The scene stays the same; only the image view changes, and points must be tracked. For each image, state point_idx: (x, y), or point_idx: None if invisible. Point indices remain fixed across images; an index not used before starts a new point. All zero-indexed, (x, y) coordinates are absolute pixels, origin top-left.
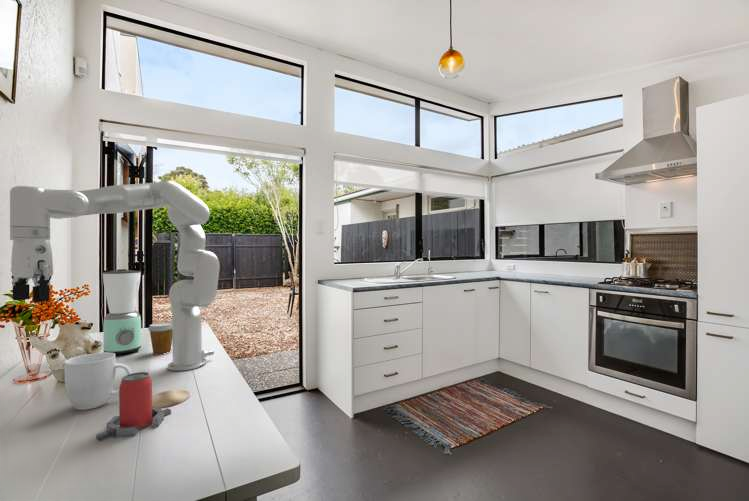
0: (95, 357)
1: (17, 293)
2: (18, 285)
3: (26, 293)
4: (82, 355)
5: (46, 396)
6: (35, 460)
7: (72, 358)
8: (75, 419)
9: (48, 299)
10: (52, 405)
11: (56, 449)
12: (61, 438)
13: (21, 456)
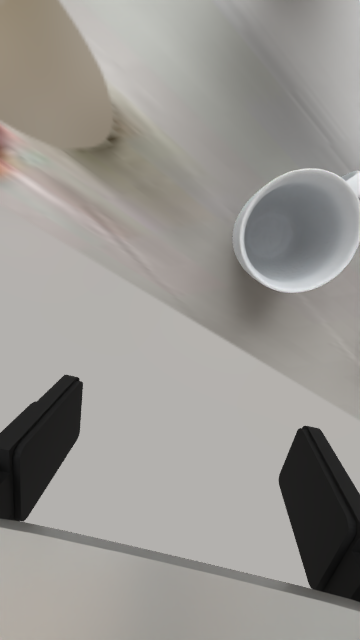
0: (266, 193)
1: (59, 457)
2: (17, 506)
3: (63, 413)
4: (246, 217)
5: (132, 221)
6: (347, 385)
7: (243, 247)
8: None
9: (318, 435)
10: (191, 252)
11: (350, 362)
12: (329, 340)
13: (318, 381)
